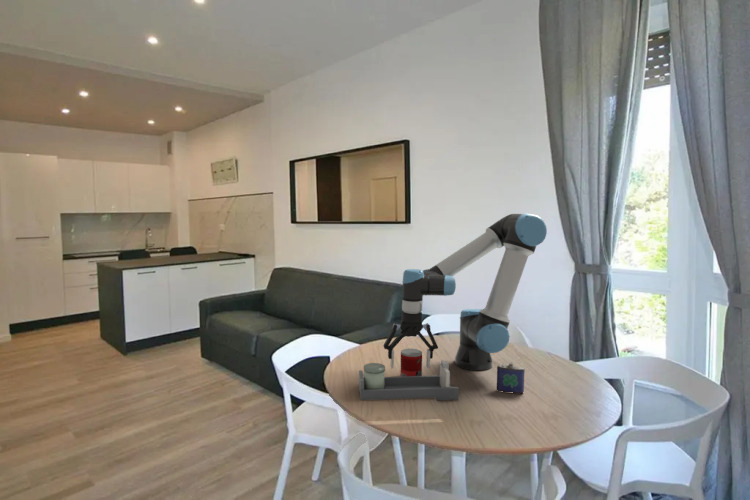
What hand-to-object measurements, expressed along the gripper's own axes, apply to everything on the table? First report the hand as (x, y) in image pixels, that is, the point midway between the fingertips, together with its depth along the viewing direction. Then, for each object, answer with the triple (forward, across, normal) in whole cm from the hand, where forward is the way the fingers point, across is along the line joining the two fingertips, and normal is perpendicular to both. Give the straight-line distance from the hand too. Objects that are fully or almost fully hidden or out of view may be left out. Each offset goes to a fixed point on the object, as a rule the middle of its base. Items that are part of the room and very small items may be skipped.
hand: (410, 367), depth 160 cm
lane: (+5, +3, +12) cm, 13 cm away
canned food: (+5, -1, 0) cm, 5 cm away
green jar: (+4, +14, +12) cm, 19 cm away
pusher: (+4, -10, +12) cm, 16 cm away
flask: (+5, -34, +13) cm, 36 cm away
